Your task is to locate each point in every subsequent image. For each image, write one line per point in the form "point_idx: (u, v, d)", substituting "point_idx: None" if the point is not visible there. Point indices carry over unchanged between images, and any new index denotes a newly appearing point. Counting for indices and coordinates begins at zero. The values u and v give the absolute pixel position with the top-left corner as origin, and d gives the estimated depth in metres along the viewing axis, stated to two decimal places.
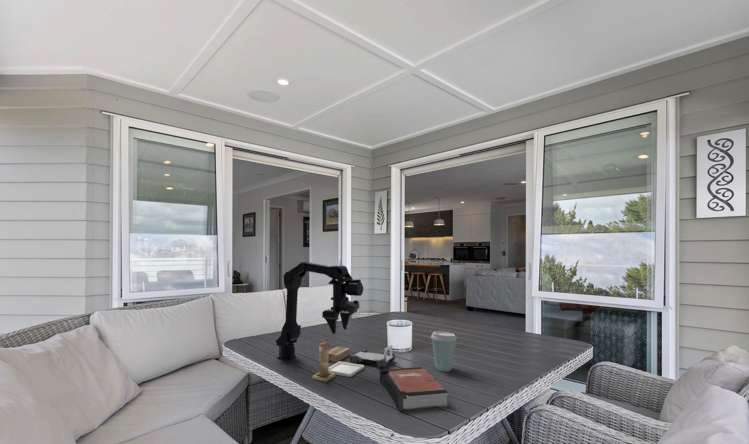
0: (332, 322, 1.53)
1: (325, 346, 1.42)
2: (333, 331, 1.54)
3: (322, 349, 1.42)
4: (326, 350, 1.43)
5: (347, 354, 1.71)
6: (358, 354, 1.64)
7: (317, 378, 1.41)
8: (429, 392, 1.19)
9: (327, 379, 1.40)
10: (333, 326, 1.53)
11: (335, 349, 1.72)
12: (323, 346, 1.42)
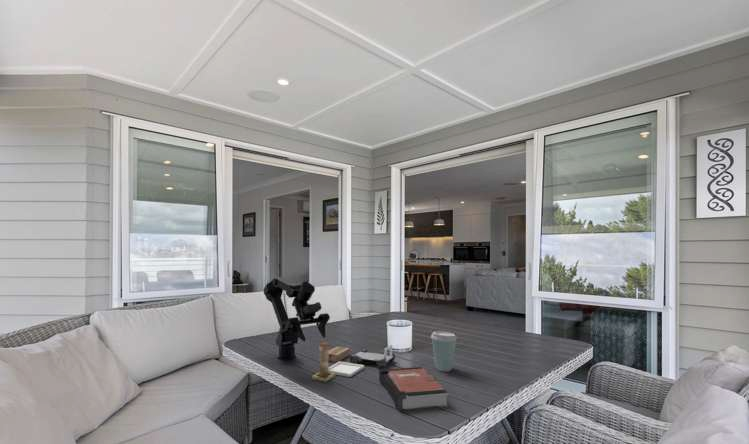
0: (298, 331, 1.49)
1: (325, 346, 1.42)
2: (302, 338, 1.47)
3: (322, 349, 1.42)
4: (326, 350, 1.43)
5: (347, 354, 1.72)
6: (358, 354, 1.64)
7: (317, 378, 1.41)
8: (429, 392, 1.19)
9: (327, 379, 1.40)
10: (299, 333, 1.48)
11: (335, 349, 1.72)
12: (323, 346, 1.42)
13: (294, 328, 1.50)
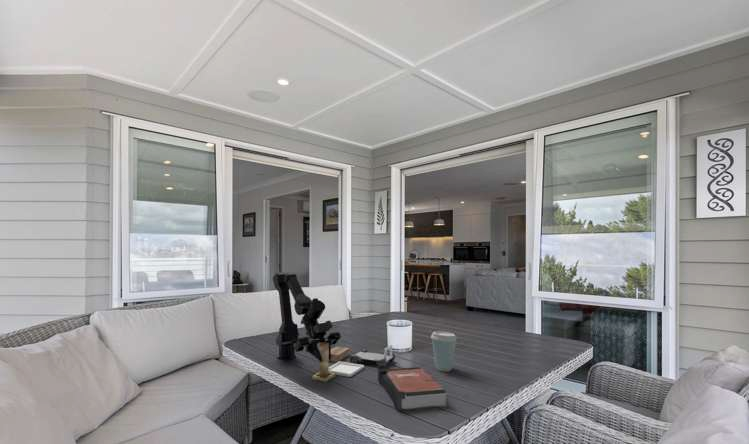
0: (314, 350, 1.43)
1: (325, 346, 1.42)
2: (319, 358, 1.42)
3: (322, 349, 1.42)
4: (326, 350, 1.43)
5: (347, 354, 1.72)
6: (358, 354, 1.64)
7: (317, 378, 1.41)
8: (428, 392, 1.19)
9: (327, 379, 1.40)
10: (316, 353, 1.42)
11: (335, 349, 1.72)
12: (323, 346, 1.42)
13: (310, 347, 1.44)
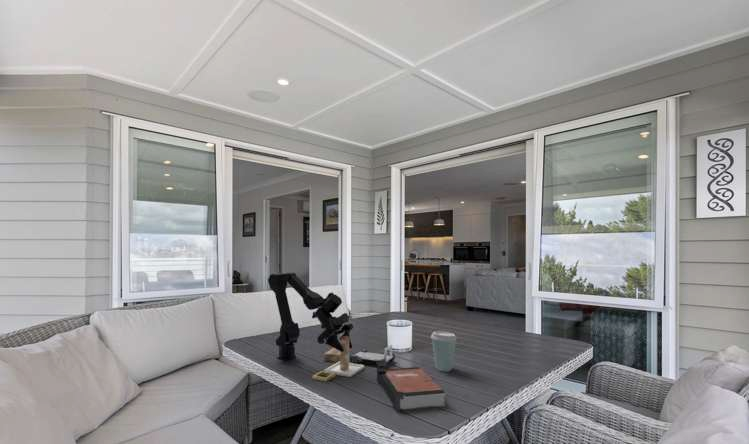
0: (334, 342, 1.50)
1: (347, 339, 1.51)
2: (341, 349, 1.49)
3: (345, 342, 1.51)
4: (348, 343, 1.52)
5: None
6: (358, 354, 1.64)
7: (317, 378, 1.41)
8: (426, 392, 1.19)
9: (327, 379, 1.40)
10: (337, 344, 1.49)
11: (335, 349, 1.72)
12: (346, 339, 1.51)
13: (330, 340, 1.50)
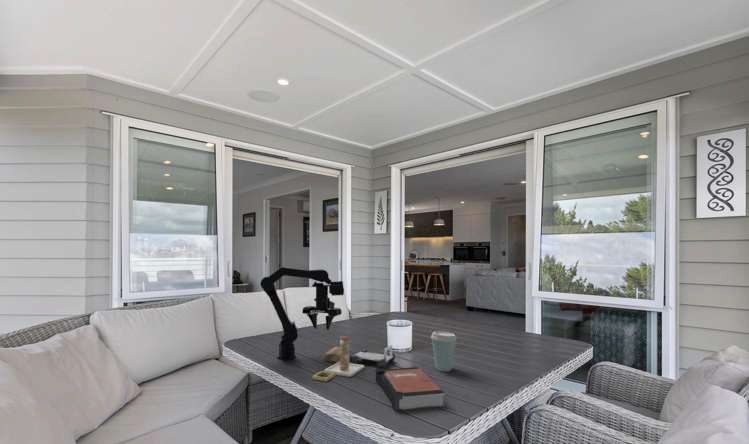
0: (330, 319, 1.72)
1: (347, 339, 1.51)
2: (328, 327, 1.72)
3: (344, 342, 1.51)
4: (348, 343, 1.52)
5: None
6: (358, 354, 1.64)
7: (317, 378, 1.41)
8: (425, 392, 1.19)
9: (327, 379, 1.40)
10: (330, 323, 1.73)
11: (334, 349, 1.72)
12: (345, 339, 1.51)
13: None
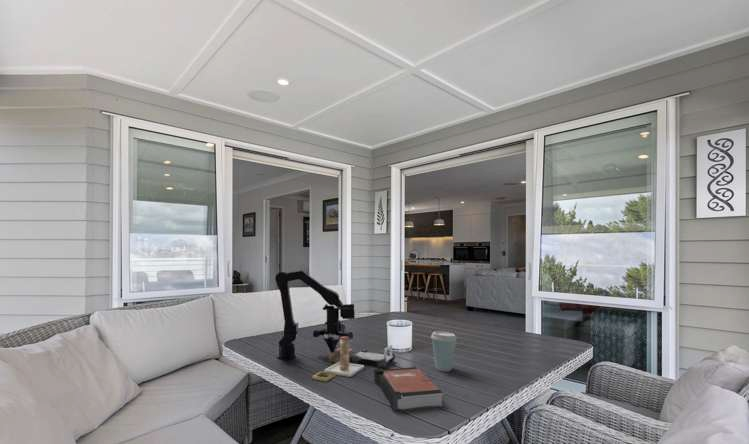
0: (335, 342, 1.71)
1: (347, 339, 1.51)
2: (333, 351, 1.71)
3: (344, 342, 1.51)
4: (348, 343, 1.52)
5: (351, 355, 1.71)
6: (358, 354, 1.64)
7: (317, 378, 1.41)
8: (424, 392, 1.19)
9: (327, 379, 1.40)
10: (335, 346, 1.71)
11: (339, 350, 1.71)
12: (345, 339, 1.51)
13: None
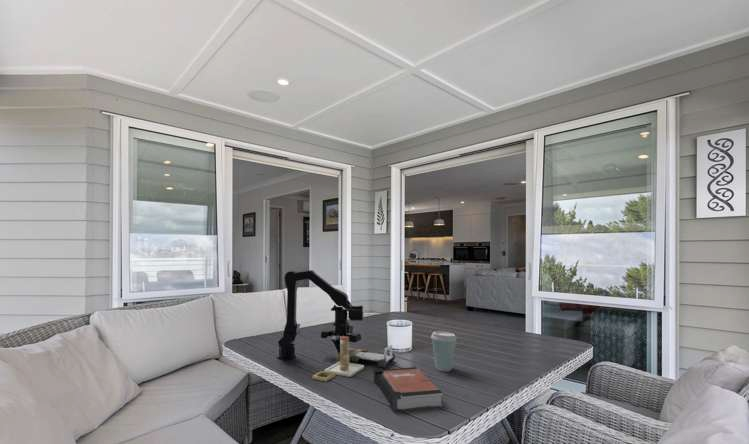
0: None
1: (347, 339, 1.51)
2: None
3: (344, 342, 1.51)
4: (348, 343, 1.52)
5: None
6: (358, 354, 1.64)
7: (317, 378, 1.41)
8: (423, 392, 1.19)
9: (327, 379, 1.40)
10: None
11: None
12: (345, 339, 1.51)
13: None
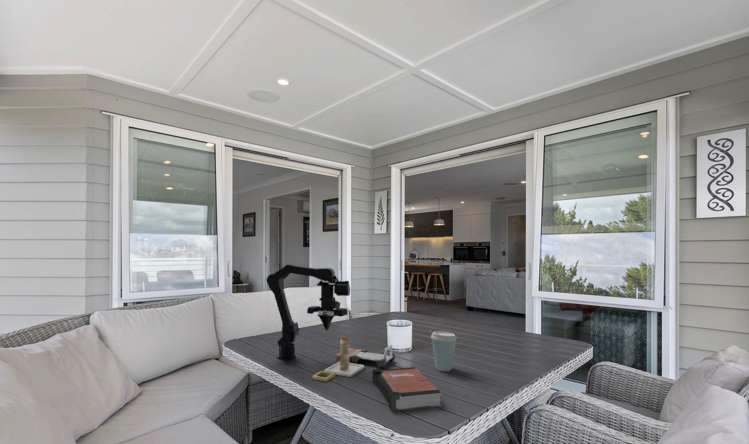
0: (329, 319, 1.68)
1: (347, 339, 1.51)
2: (328, 327, 1.68)
3: (344, 342, 1.51)
4: (348, 343, 1.52)
5: None
6: (358, 354, 1.64)
7: (317, 378, 1.41)
8: (422, 392, 1.19)
9: (327, 379, 1.40)
10: (330, 322, 1.68)
11: None
12: (345, 339, 1.51)
13: None
